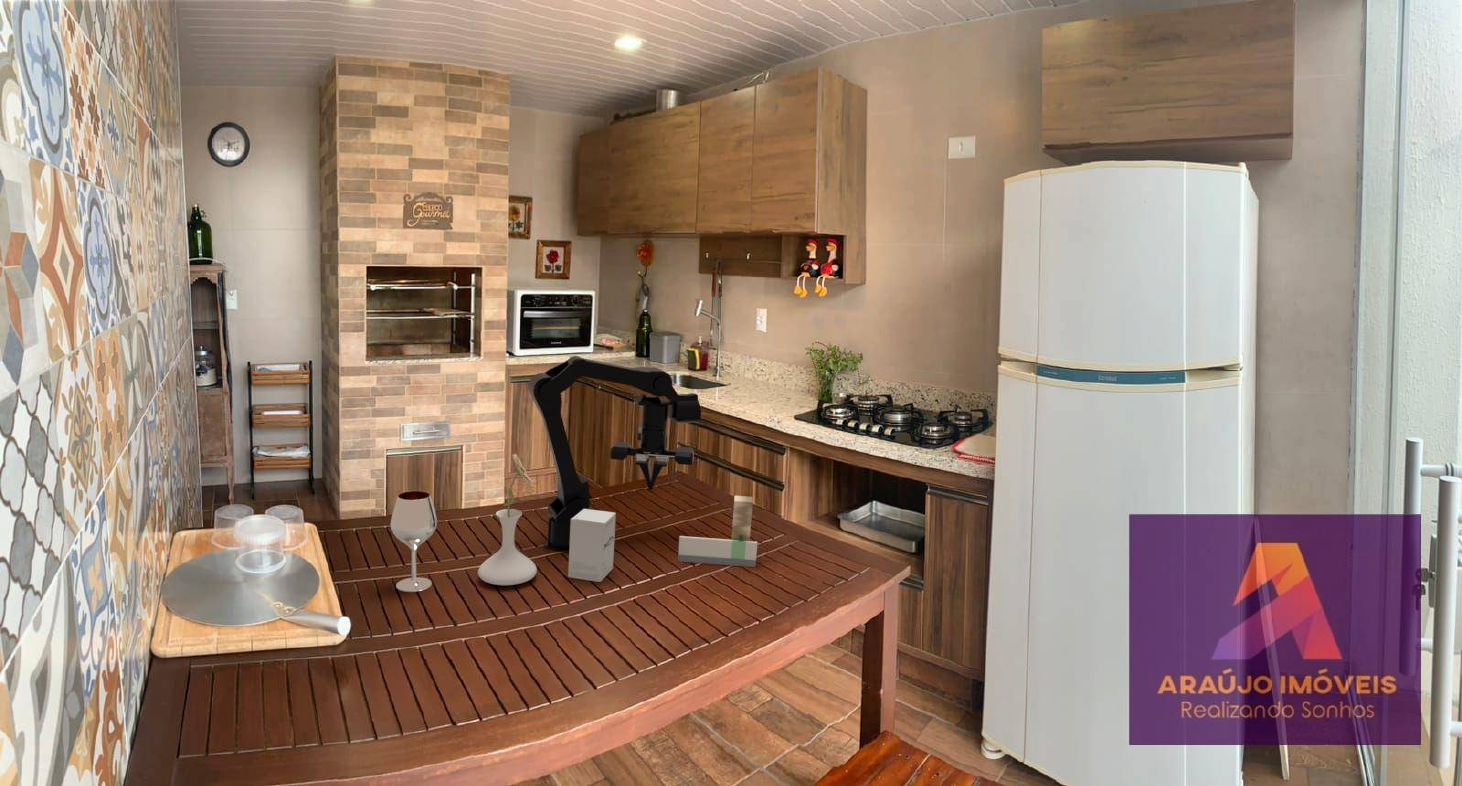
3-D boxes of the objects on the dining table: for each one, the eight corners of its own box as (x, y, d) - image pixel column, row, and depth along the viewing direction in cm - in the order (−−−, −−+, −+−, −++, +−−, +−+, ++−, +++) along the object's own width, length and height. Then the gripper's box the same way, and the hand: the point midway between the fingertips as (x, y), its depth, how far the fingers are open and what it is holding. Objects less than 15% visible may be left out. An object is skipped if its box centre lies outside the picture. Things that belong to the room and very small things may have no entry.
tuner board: (677, 561, 176) (679, 537, 175) (680, 548, 184) (682, 525, 183) (755, 567, 176) (757, 543, 175) (754, 553, 184) (756, 530, 183)
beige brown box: (727, 557, 175) (731, 504, 173) (728, 547, 182) (732, 495, 179) (750, 559, 175) (755, 505, 173) (750, 548, 182) (754, 496, 179)
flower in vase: (528, 593, 155) (532, 467, 151) (469, 588, 155) (471, 463, 151) (544, 566, 168) (548, 450, 163) (490, 562, 168) (492, 446, 163)
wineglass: (392, 596, 149) (392, 503, 146) (388, 579, 156) (388, 490, 153) (439, 591, 153) (440, 500, 150) (433, 574, 160) (434, 487, 157)
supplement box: (601, 583, 162) (604, 523, 160) (567, 577, 163) (569, 518, 161) (614, 569, 169) (616, 512, 167) (580, 564, 170) (583, 507, 168)
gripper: (697, 419, 191) (693, 482, 194) (619, 413, 191) (616, 476, 194) (694, 429, 180) (690, 496, 183) (611, 423, 180) (608, 490, 183)
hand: (650, 489), depth 186 cm, fingers closed
